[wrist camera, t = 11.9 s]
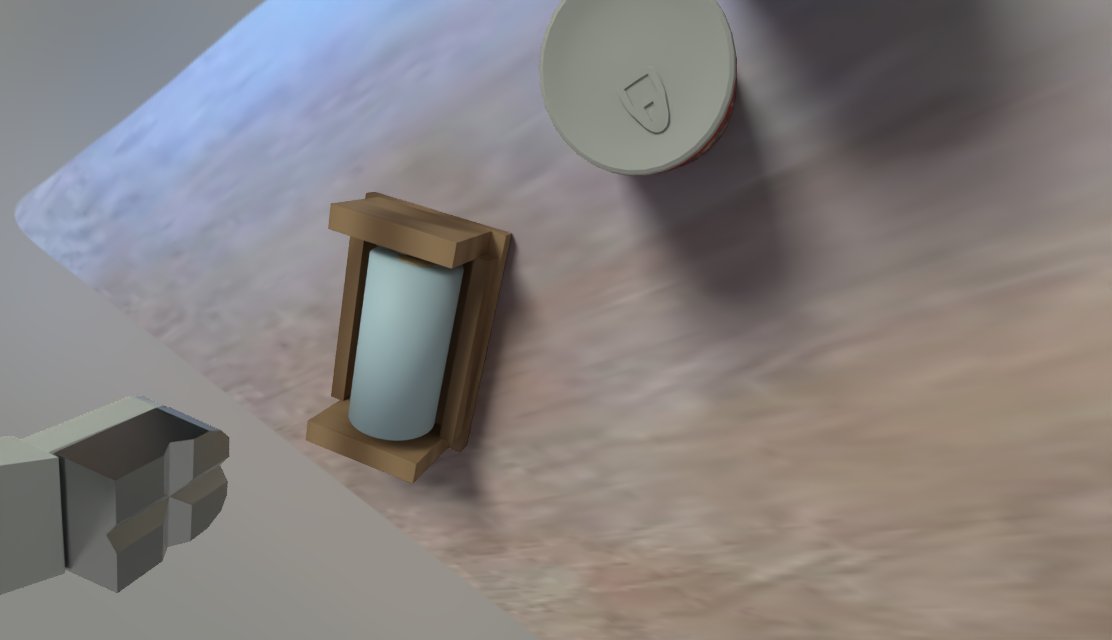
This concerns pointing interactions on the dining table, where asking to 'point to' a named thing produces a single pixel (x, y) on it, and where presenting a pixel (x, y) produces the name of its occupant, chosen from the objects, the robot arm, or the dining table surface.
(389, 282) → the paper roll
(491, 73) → the dining table surface
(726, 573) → the dining table surface
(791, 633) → the dining table surface
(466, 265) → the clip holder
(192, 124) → the dining table surface
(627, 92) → the canned food
